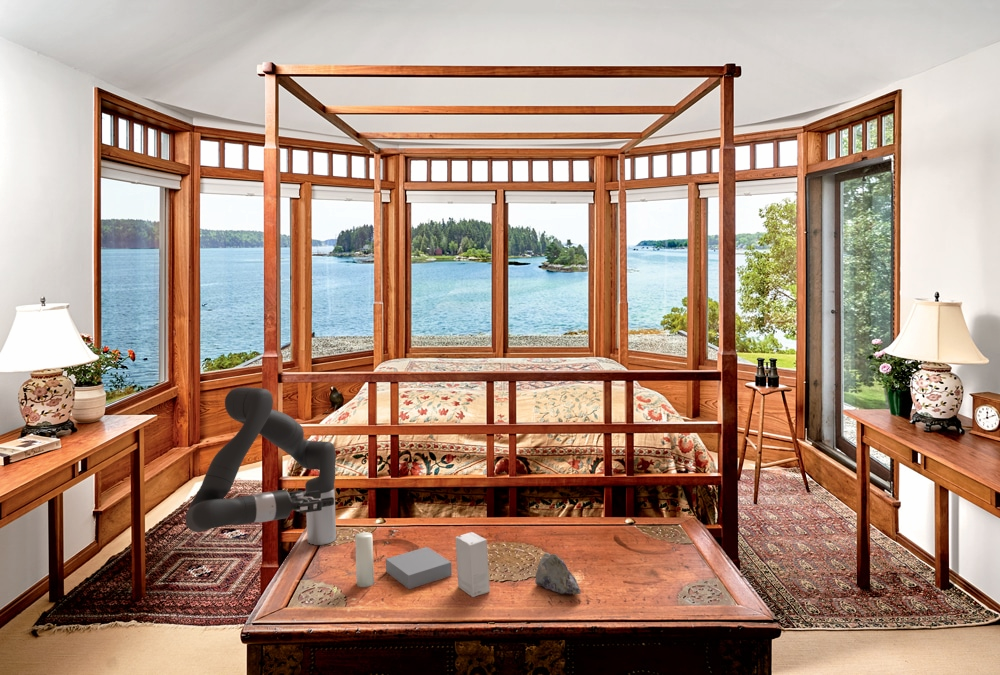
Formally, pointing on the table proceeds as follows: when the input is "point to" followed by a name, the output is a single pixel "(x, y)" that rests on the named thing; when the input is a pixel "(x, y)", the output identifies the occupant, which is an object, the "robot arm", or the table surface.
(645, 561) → the table surface
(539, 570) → the mineral rock
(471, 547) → the skincare box
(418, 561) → the slate plinth
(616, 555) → the table surface
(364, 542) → the white cylinder
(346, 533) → the table surface
